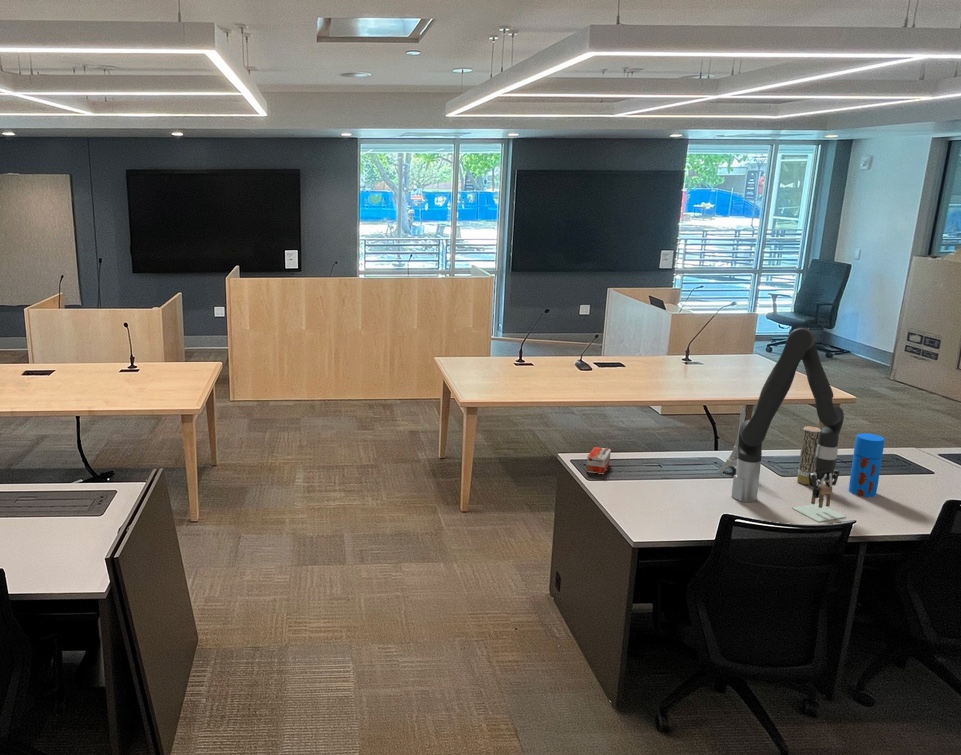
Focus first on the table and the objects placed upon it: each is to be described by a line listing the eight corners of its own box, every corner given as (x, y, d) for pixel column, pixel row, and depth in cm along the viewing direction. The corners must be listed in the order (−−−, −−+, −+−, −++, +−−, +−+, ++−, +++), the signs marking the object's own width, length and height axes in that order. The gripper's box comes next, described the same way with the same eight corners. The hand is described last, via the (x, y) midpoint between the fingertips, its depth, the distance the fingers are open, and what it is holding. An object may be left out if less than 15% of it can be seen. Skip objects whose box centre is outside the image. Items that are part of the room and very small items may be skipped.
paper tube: (799, 478, 340) (806, 425, 334) (815, 482, 336) (822, 428, 330) (794, 482, 335) (801, 428, 329) (810, 486, 331) (818, 432, 325)
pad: (818, 522, 294) (818, 521, 294) (792, 508, 307) (792, 507, 306) (845, 517, 299) (846, 516, 299) (818, 504, 312) (818, 503, 311)
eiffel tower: (716, 472, 346) (723, 409, 339) (728, 464, 356) (735, 403, 349) (745, 479, 338) (752, 414, 331) (756, 471, 348) (763, 408, 341)
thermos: (853, 486, 333) (861, 431, 327) (879, 493, 325) (888, 437, 319) (844, 492, 325) (852, 436, 319) (870, 499, 318) (879, 442, 312)
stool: (810, 503, 303) (813, 484, 302) (820, 501, 305) (822, 483, 303) (820, 508, 299) (822, 489, 297) (830, 506, 301) (832, 487, 299)
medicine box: (603, 475, 339) (605, 458, 337) (586, 473, 341) (587, 456, 339) (610, 465, 353) (611, 448, 351) (592, 462, 355) (593, 446, 353)
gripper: (832, 450, 303) (827, 490, 307) (805, 454, 298) (800, 495, 302) (847, 456, 296) (842, 497, 300) (819, 461, 291) (814, 502, 295)
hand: (821, 496), depth 301 cm, fingers closed on stool, 5 cm apart
